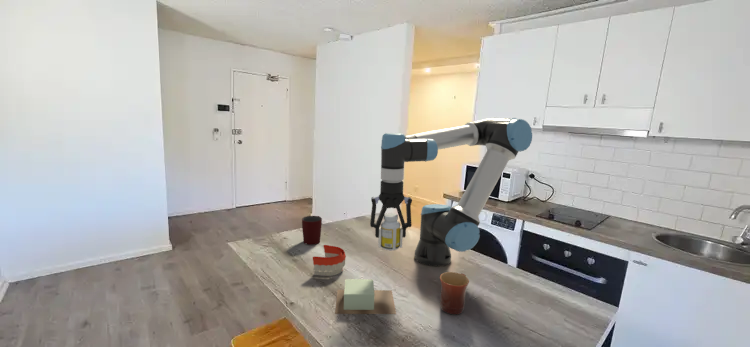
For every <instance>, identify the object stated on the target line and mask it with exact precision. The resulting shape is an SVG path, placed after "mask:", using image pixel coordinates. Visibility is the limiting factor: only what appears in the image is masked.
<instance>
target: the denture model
mask: <svg viewBox="0 0 750 347" xmlns="http://www.w3.org/2000/svg"><path fill="white" fill-rule="evenodd" d="M322 247H323V249H324V250H323V253H324V257H323V256H312V262H313V275H314V276H322V277H323V276H325V277H330V276H331V277H332V276H335V275H339V274H341V273H342V271H344V269H343V268H344V267H345V265H346V257H347V256H346V252H345V250H344V249H343V248H341V247H339V246H335V245H329V244H323V246H322Z"/></svg>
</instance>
